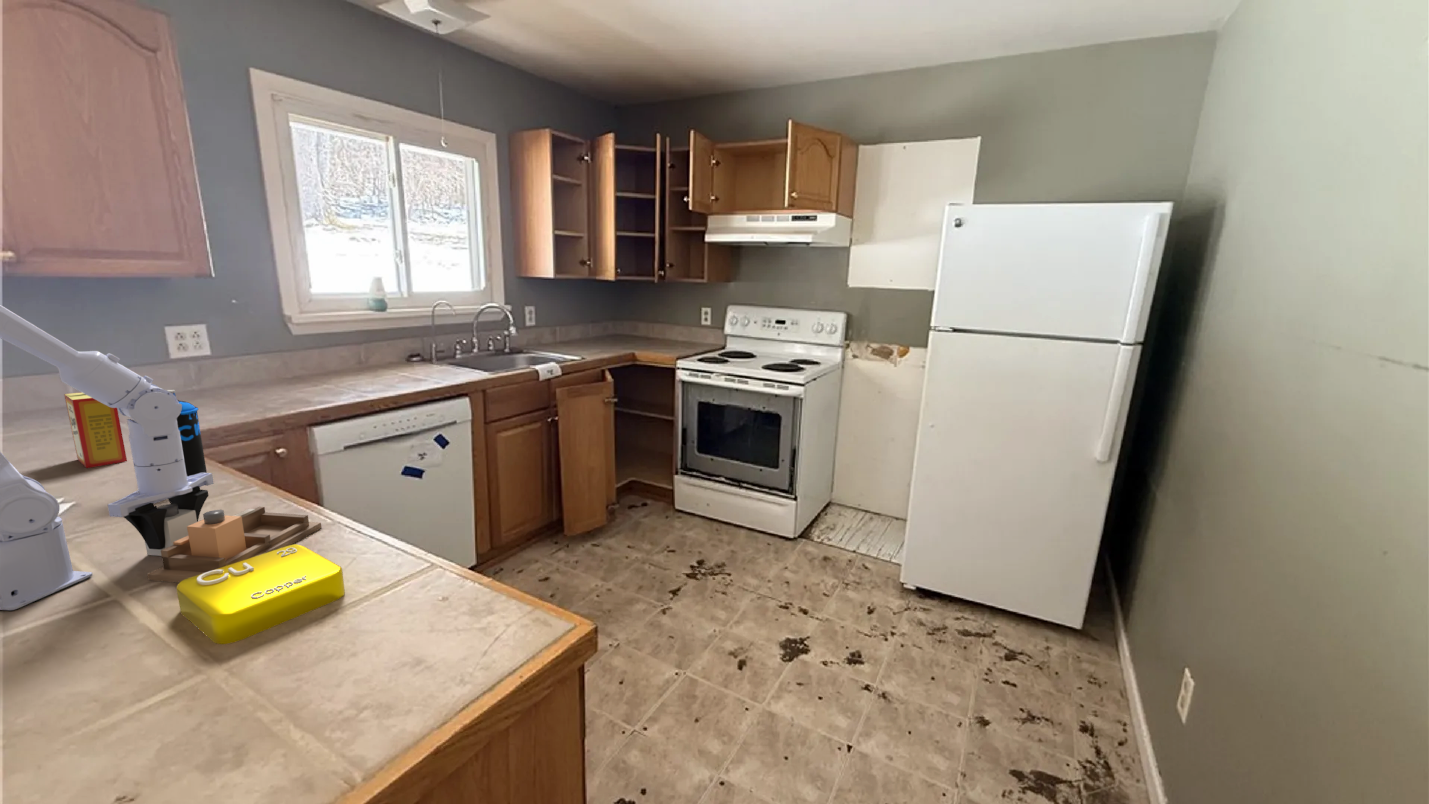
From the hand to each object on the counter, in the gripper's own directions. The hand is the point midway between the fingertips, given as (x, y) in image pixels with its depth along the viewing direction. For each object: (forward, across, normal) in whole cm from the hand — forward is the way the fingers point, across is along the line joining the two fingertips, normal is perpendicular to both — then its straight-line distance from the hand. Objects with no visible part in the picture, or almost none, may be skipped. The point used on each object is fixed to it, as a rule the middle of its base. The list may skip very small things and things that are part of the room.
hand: (173, 541), depth 93 cm
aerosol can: (+2, +27, +27) cm, 38 cm away
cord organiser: (+2, +1, -11) cm, 11 cm away
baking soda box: (+2, +37, +58) cm, 69 cm away
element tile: (+2, -12, -26) cm, 29 cm away
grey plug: (+1, 0, 0) cm, 1 cm away
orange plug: (0, -3, -11) cm, 12 cm away
